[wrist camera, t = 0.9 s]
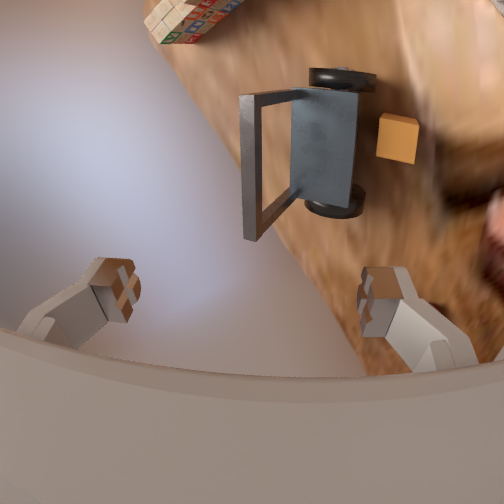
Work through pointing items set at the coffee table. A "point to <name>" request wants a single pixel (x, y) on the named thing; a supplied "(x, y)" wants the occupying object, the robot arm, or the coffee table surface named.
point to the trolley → (307, 148)
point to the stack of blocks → (186, 19)
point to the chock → (397, 138)
